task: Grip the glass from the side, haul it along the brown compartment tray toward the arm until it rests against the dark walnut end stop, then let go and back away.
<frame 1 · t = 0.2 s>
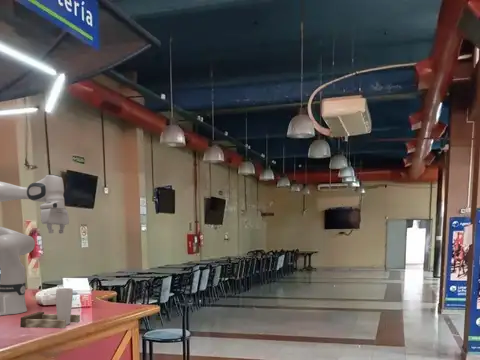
hand: (56, 233, 227), 39 cm above the counter, tool pointing down, fingers open, 8 cm apart
brown compartment tray: (52, 324, 196), on the counter
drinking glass: (63, 325, 195), on the counter
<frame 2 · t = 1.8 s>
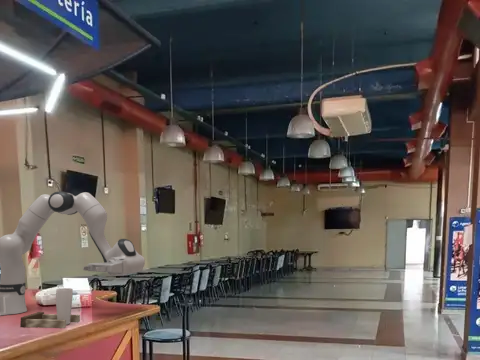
hand: (89, 269, 207), 23 cm above the counter, tool horizontal, fingers open, 8 cm apart
nothing on the counter moved.
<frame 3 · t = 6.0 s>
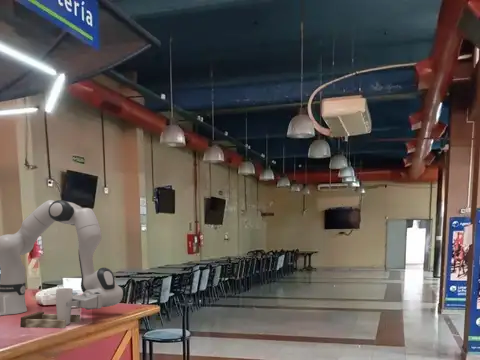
hand: (62, 303, 196), 9 cm above the counter, tool horizontal, fingers closed on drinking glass, 6 cm apart
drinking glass: (63, 325, 195), on the counter, touching gripper
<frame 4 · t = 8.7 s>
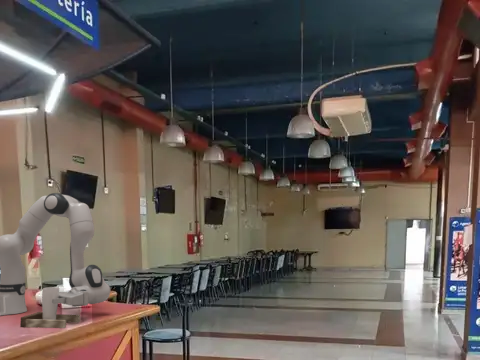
hand: (48, 300, 197), 10 cm above the counter, tool horizontal, fingers closed on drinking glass, 6 cm apart
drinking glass: (49, 323, 196), on the counter, touching gripper
when the fingers open (10 cm above the counter, at t = 10.5 s): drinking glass stays where it is, on the counter.
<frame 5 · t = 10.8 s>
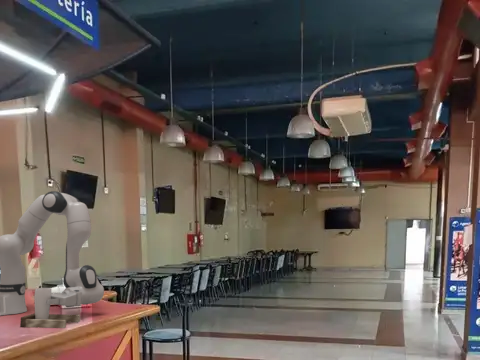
hand: (41, 301, 197), 10 cm above the counter, tool horizontal, fingers open, 8 cm apart
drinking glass: (41, 324, 197), on the counter, touching gripper
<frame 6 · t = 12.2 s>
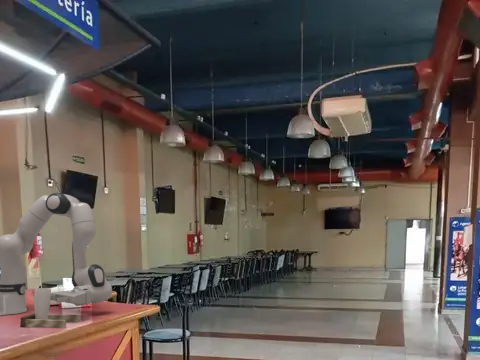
hand: (51, 299, 201), 10 cm above the counter, tool horizontal, fingers open, 8 cm apart
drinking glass: (41, 324, 197), on the counter
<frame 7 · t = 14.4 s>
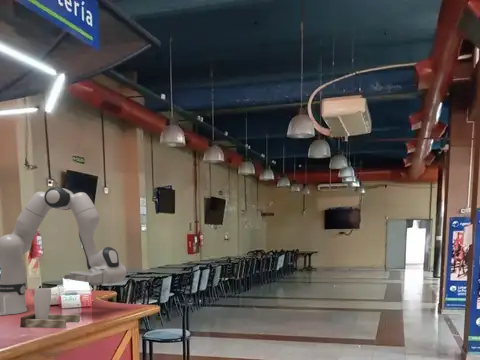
hand: (69, 277, 209), 19 cm above the counter, tool horizontal, fingers open, 8 cm apart
nothing on the counter moved.
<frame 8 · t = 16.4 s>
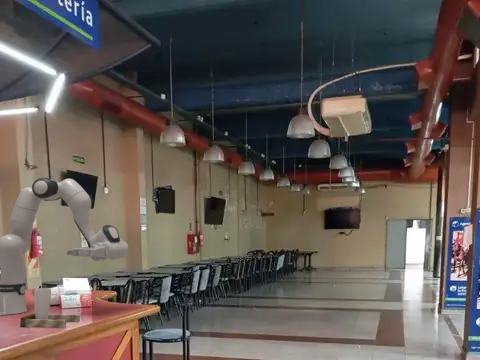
hand: (72, 253, 211), 30 cm above the counter, tool horizontal, fingers open, 8 cm apart
nothing on the counter moved.
at the end: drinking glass 1.3 cm from the target spot, on the counter; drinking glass tilted 1°; the gripper is holding nothing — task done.
